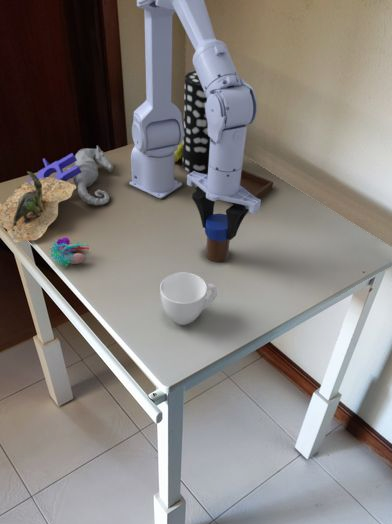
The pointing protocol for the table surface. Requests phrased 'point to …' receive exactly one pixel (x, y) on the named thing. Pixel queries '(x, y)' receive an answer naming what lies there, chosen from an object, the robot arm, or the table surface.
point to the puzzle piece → (59, 169)
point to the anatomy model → (67, 248)
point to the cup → (185, 296)
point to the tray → (255, 184)
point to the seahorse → (90, 174)
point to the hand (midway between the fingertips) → (218, 231)
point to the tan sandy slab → (34, 207)
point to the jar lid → (216, 227)
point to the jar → (217, 250)
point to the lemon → (179, 153)
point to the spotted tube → (195, 126)
